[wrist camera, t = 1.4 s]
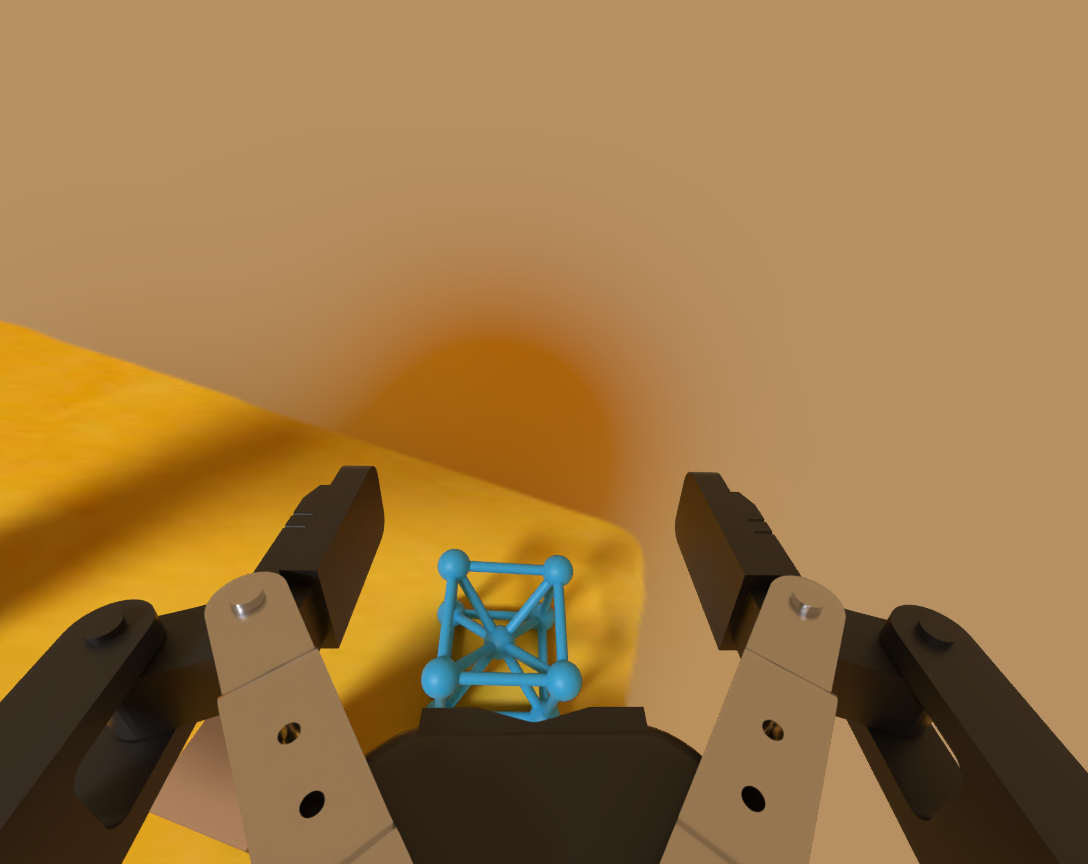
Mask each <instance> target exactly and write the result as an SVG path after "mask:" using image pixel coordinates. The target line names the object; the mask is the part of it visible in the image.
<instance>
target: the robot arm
mask: <svg viewBox="0 0 1088 864" xmlns="http://www.w3.org/2000/svg"><path fill="white" fill-rule="evenodd" d="M383 531H384V509H383V503H382V497H381V491H380V485H379V479H378V474H377V470H376V468H375V467H374V466H342V467H341V469H340V470H339V472H338V473H337V475H336V477H335V478H334V480H333V482H332V483H331V485H320V486H318V487H317V488H316V489H314V490H313V491H312V492H310V493H309V494H308V495H306V496H305V497H304V498H303V499H302V501H301V502H300V504H299V505H298V507H297V508H296V510H295V511H294V514H293V516H291V517H290V519H289V520H288V522H287V523H286V525H285V528H283V529H282V530H281V532H280V533H279V535H278V536H277V538H276V539H275V541H274V542H273V544H272V545H271V547H270V548H269V550H268V551H267V553H266V554H265V556H264V557H263V559H262V560H261V562H260V563H259V565H258V566H257V568H256V569H255V571H254V572H253V573H251V574H247V575H244V576H241V577H239V578H237V579H234V580H232V581H231V582H229V583H227V584H226V585H224V586H223V587H222V588H220V589H219V590H218V591H217V592H216V593H215V594H214V595H213V596H212V597H211V599H210V600H209V601H208V603H207V604H206V605H203V606H199V607H195V608H191V609H186V610H182V611H178V612H174V613H169V614H165V615H161V616H158V615H157V613H156V611H155V610H154V608H153V606H152V605H151V604H150V603H148V602H146V601H143V600H134V599H132V600H123V601H118V602H115V603H111V604H108V605H106V606H103V607H100V608H98V609H96V610H94V611H92V612H90V613H89V614H87V615H85V616H83V617H82V618H80V619H79V620H78V621H76V622H75V623H74V624H72V625H71V626H70V627H69V628H68V629H67V630H66V631H65V632H64V633H63V634H62V635H61V636H60V637H59V638H58V639H57V640H56V641H55V643H54V644H53V645H52V646H51V647H50V648H49V649H48V650H47V651H46V652H45V654H44V655H43V656H42V657H41V658H40V659H39V660H38V661H37V662H36V663H35V665H34V666H33V667H32V668H31V669H30V670H29V671H28V672H27V673H26V674H25V676H24V677H23V678H22V679H21V680H20V681H19V682H18V683H17V684H16V685H15V687H14V688H13V689H12V690H11V691H10V692H9V693H8V694H7V695H6V696H5V698H4V699H3V700H2V701H1V702H0V864H122V862H123V860H124V858H125V856H126V855H127V853H128V851H129V849H130V847H131V845H132V843H133V841H134V839H135V838H136V836H137V834H138V832H139V830H140V828H141V826H142V824H143V822H144V821H145V819H146V817H147V815H148V813H149V811H150V809H151V807H152V805H153V804H154V802H155V800H156V798H157V796H158V794H159V792H160V790H161V789H162V787H163V785H164V783H165V781H166V779H167V777H168V775H169V773H170V772H171V770H172V768H173V766H174V764H175V762H176V760H177V758H178V756H179V755H180V753H181V751H182V749H183V747H184V745H185V743H186V741H187V739H188V738H189V736H190V734H191V732H192V730H193V728H194V726H195V724H196V723H197V722H199V721H202V720H206V719H209V718H212V717H216V716H219V715H220V718H221V723H222V728H223V733H224V737H225V742H226V747H227V751H228V756H229V761H230V765H231V770H232V775H233V780H234V784H235V789H236V794H237V798H238V803H239V808H240V812H241V817H242V822H243V827H244V831H245V836H246V841H247V845H248V850H249V855H250V859H251V864H809V859H810V853H811V848H812V842H813V836H814V831H815V825H816V820H817V814H818V809H819V803H820V798H821V792H822V786H823V781H824V775H825V770H826V764H827V759H828V753H829V747H830V742H831V737H832V731H833V726H834V720H835V716H837V717H840V718H844V719H847V721H848V723H849V725H850V727H851V729H852V731H853V733H854V735H855V737H856V739H857V741H858V743H859V745H860V747H861V749H862V751H863V753H864V755H865V757H866V759H867V761H868V763H869V765H870V767H871V769H872V771H873V773H874V775H875V777H876V779H877V781H878V782H879V784H880V786H881V788H882V790H883V792H884V794H885V796H886V798H887V800H888V802H889V804H890V806H891V808H892V810H893V812H894V814H895V816H896V818H897V820H898V822H899V824H900V826H901V828H902V830H903V832H904V834H905V835H906V838H907V840H908V842H909V844H910V846H911V848H912V850H913V852H914V854H915V856H916V857H917V860H918V861H919V863H920V864H1088V773H1087V772H1086V770H1085V769H1084V768H1083V767H1082V766H1081V765H1080V763H1079V762H1078V761H1077V760H1076V759H1075V758H1074V757H1073V755H1072V754H1071V753H1070V752H1069V751H1068V750H1067V748H1066V747H1065V746H1064V745H1063V744H1062V742H1061V741H1060V740H1059V739H1058V738H1057V737H1056V736H1055V734H1054V733H1053V732H1052V731H1051V730H1050V729H1049V727H1048V726H1047V725H1046V724H1045V723H1044V721H1043V720H1042V719H1041V718H1040V717H1039V715H1038V714H1037V713H1036V712H1035V711H1034V710H1033V708H1032V707H1031V706H1030V705H1029V704H1028V703H1027V702H1026V700H1025V699H1024V698H1023V697H1022V696H1021V694H1020V693H1019V692H1018V691H1017V690H1016V689H1015V687H1013V685H1012V684H1011V683H1010V682H1009V680H1008V679H1007V678H1006V677H1005V676H1004V675H1003V673H1002V672H1000V670H999V669H998V668H997V666H996V665H995V664H994V663H993V662H992V661H991V659H990V658H989V657H988V656H987V655H986V654H985V652H984V651H983V650H982V649H981V648H980V647H979V645H978V644H977V643H976V642H975V641H974V640H973V638H972V637H971V636H970V635H969V634H968V633H967V632H966V631H965V630H964V629H963V628H961V627H960V626H959V625H958V624H956V623H955V622H954V621H952V620H950V619H949V618H947V617H946V616H944V615H942V614H940V613H938V612H936V611H933V610H931V609H928V608H925V607H921V606H916V605H903V606H899V607H896V608H895V609H894V610H893V611H892V613H891V615H890V616H889V618H888V620H885V619H881V618H878V617H874V616H870V615H866V614H862V613H858V612H854V611H850V610H847V609H844V608H843V606H842V604H841V603H840V601H839V600H838V599H837V597H836V596H835V595H834V594H832V593H831V592H830V591H829V590H828V589H826V588H825V587H823V586H822V585H820V584H818V583H816V582H814V581H812V580H809V579H807V578H803V577H801V575H800V574H799V572H798V570H797V569H796V567H795V566H794V564H793V563H792V561H791V560H790V558H789V557H788V555H787V554H786V552H785V550H784V549H783V547H782V546H781V544H780V543H779V541H778V540H777V538H776V537H775V535H772V531H771V529H770V527H769V526H768V524H767V523H766V522H764V518H763V517H762V515H761V513H760V512H759V510H758V509H757V507H756V506H755V505H754V504H753V503H752V502H751V501H749V500H748V499H747V498H746V497H744V496H743V495H742V494H741V493H739V492H730V490H729V489H728V487H727V485H726V483H725V482H724V480H723V479H722V477H721V475H720V474H719V473H711V472H688V473H687V475H686V476H685V480H684V484H683V488H682V493H681V497H680V502H679V506H678V510H677V515H676V521H675V532H676V538H677V542H678V545H679V547H680V550H681V553H682V555H683V558H684V560H685V563H686V565H687V568H688V571H689V573H690V576H691V579H692V581H693V584H694V586H695V589H696V591H697V594H698V597H699V599H700V602H701V604H702V607H703V610H704V612H705V615H706V618H707V620H708V623H709V625H710V628H711V631H712V633H713V636H714V638H715V641H716V644H717V646H718V649H719V650H737V651H738V653H739V656H740V658H741V661H740V663H739V665H738V668H737V670H736V673H735V676H734V678H733V681H732V683H731V686H730V688H729V691H728V693H727V696H726V698H725V701H724V704H723V706H722V708H721V711H720V713H719V716H718V718H717V721H716V723H715V726H714V729H713V731H712V733H711V736H710V739H709V741H708V744H707V746H706V749H705V751H704V754H703V756H701V755H700V754H699V753H698V752H697V751H696V750H694V749H693V748H692V747H690V746H689V745H687V744H686V743H684V742H683V741H682V740H680V739H678V738H676V737H674V736H673V735H671V734H669V733H667V732H664V731H661V730H659V729H657V728H654V727H651V726H647V722H646V717H645V712H644V707H589V708H585V709H582V710H578V711H575V712H571V713H567V714H564V715H560V716H557V717H553V718H550V719H546V720H543V721H538V722H530V721H526V720H522V719H518V718H515V717H511V716H507V715H503V714H500V713H496V712H492V711H489V710H485V709H481V708H423V709H422V715H421V720H420V725H419V727H416V728H413V729H410V730H407V731H405V732H402V733H400V734H398V735H395V736H394V737H392V738H390V739H388V740H386V741H384V742H383V743H381V744H380V745H378V746H377V747H375V748H374V749H373V750H371V751H370V752H368V753H367V754H366V755H365V756H364V754H363V752H362V750H361V747H360V745H359V743H358V740H357V738H356V736H355V734H354V731H353V729H352V727H351V724H350V722H349V720H348V717H347V715H346V713H345V710H344V708H343V706H342V703H341V701H340V699H339V697H338V694H337V692H336V690H335V687H334V685H333V683H332V680H331V678H330V676H329V673H328V671H327V669H326V667H325V664H324V662H323V660H322V657H321V655H320V653H319V651H320V648H339V646H340V644H341V641H342V639H343V636H344V634H345V631H346V628H347V626H348V623H349V621H350V618H351V616H352V613H353V611H354V608H355V605H356V603H357V600H358V598H359V595H360V593H361V590H362V587H363V585H364V582H365V580H366V577H367V575H368V572H369V570H370V567H371V564H372V562H373V559H374V557H375V554H376V552H377V549H378V546H379V544H380V541H381V539H382V536H383ZM932 721H933V722H934V724H935V726H936V727H937V729H938V730H939V732H940V733H941V735H942V736H943V738H944V739H945V741H946V742H947V744H948V745H949V747H950V748H951V750H952V751H953V753H954V755H955V756H956V758H957V760H958V763H959V766H960V767H959V766H958V764H957V763H956V761H955V760H954V758H953V757H952V755H951V754H950V752H949V751H948V749H947V747H946V746H945V744H944V743H943V741H942V740H941V738H940V737H939V735H938V734H937V732H936V731H935V729H934V728H933V726H932V725H931V723H932Z"/></svg>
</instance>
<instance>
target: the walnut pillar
mask: <svg viewBox="0 0 1088 864" xmlns="http://www.w3.org/2000/svg"><path fill="white" fill-rule="evenodd" d="M149 812H150V813H153V814H155V815H157V816H160V817H162V818H165V819H167V820H170V821H172V822H174V823H177V824H179V825H182V826H184V827H187V828H189V829H191V830H194V831H196V832H199V833H201V834H203V835H206V836H208V837H211V838H213V839H216V840H218V841H220V842H223V843H225V844H228V845H230V846H233V847H235V848H237V849H240V850H242V851H245V852H247V853H249V850H248V845H247V841H246V836H245V831H244V827H243V822H242V817H241V812H240V808H239V803H238V798H237V794H236V789H235V784H234V780H233V775H232V770H231V765H230V761H229V756H228V751H227V747H226V742H225V737H224V733H223V728H222V723H221V718H220V715H219V716H216V717H212V718H209V719H206V720H205V721H204V723H203V724H202V726H201V727H200V728H199V730H198V731H197V732H196V734H195V735H194V737H193V738H192V739H191V741H190V742H189V743H188V745H187V746H186V748H185V749H184V750H183V752H182V753H181V755H180V756H179V757H178V759H177V760H176V762H175V764H174V766H173V768H172V770H171V772H170V773H169V775H168V777H167V779H166V781H165V783H164V785H163V787H162V789H161V790H160V792H159V794H158V796H157V798H156V800H155V802H154V804H153V805H152V807H151V809H150V811H149Z"/></svg>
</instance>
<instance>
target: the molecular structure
mask: <svg viewBox="0 0 1088 864" xmlns="http://www.w3.org/2000/svg"><path fill="white" fill-rule="evenodd" d="M438 571H439V574H440V575H441V576H442V578H443V579H445V580H447V584H446V592H445V600H444V602H443V603H442V604H441V605H440V607H439V608H438V612H437V616H438V620H439V622H440V624H441V631H440V639H439V647H438V655H437V657H436V658H434V659H432V660H431V661H429V662H428V663H427V664H426V666H425V668H424V670H423V672H422V676H421V684H422V688H423V690H424V691H425V693H426V694H427V695H428V696H430V697H431V698H434V700H433V701H431V702H430V703H429V704H428V705H427V707H426V708H455V707H454V706H455V705H456V704H457V702H458V701H459V700H460V699H461V697H462V696H463V695H464V694H465V693H466V691H467V690H468V689H469V688H470V686H471V685H499V686H520V687H521V689H522V690H523V692H524V694H525V696H526V697H527V699H528V701H529V702H530V704H531V706H532V708H531V710H530V712H515V711H492V712H496V713H500V714H503V715H507V716H511V717H515V718H518V719H522V720H526V721H530V722H538V721H543V720H546V719H550V718H553V717H557V716H560V712H559V710H558V707H557V705H558V703H559V701H564V702H566V701H570V700H572V699H573V698H575V697H576V696H577V695H578V694H579V692H580V690H581V686H582V676H581V673H580V671H579V669H578V668H577V666H576V665H575V664H573V663H572V662H570V661H568V649H567V634H566V618H565V603H564V587H563V586H565V585H566V584H568V583H569V582H570V580H571V579H572V576H573V567H572V564H571V562H570V561H569V560H568V559H567V558H566V557H564V556H561V555H554V556H551V557H549V558H548V559H547V560H546V561H545V563H544V565H531V564H514V563H496V562H479V561H470V560H469V557H468V556H467V554H466V553H465V552H463V551H462V550H459V549H451V550H448V551H446V552H445V553H443V554H442V555H441V557H440V559H439V561H438ZM469 571H472V572H491V573H509V574H528V575H543V578H544V581H543V582H542V583H541V584H540V585H539V587H538V588H537V589H536V590H535V592H534V593H533V594H532V595H531V597H530V598H529V599H528V600H527V601H526V603H525V604H524V605H523V606H522V608H521V609H520V610H519V611H518V612H516V611H493V610H486V608H485V606H484V605H483V603H482V601H481V600H480V598H479V596H478V595H477V593H476V591H475V590H474V588H473V586H472V585H471V583H470V581H469V579H468V578H467V576H466V575H467V574H468V572H469ZM458 583H459V585H460V586H461V588H462V590H463V591H464V593H465V595H466V596H467V598H468V600H469V601H470V603H471V605H472V606H473V608H474V610H470V609H465V607H464V605H463V604H462V602H460V601H459V600H457V589H458ZM544 595H545V596H544ZM543 596H544V599H543V602H542V603H539V601H540V600H541V599H542V598H543ZM553 597H554V607H555V612H554V610H553V608H552V607H551V603H552V600H553ZM471 619H480V620H481V622H482V623H483V625H484V627H483V626H482V625H480V624H478V623H477V622H475V621H473V620H471ZM493 620H511V621H510V622H509V624H508V625H507V626H503V625H498V626H496V625H495V623H494V622H493ZM523 621H525V622H524V623H522V622H523ZM554 622H555V628H556V649H557V662H555V663H554V664H552V665H551V666H550V665H549V664H548V657H547V630H549V629H551V627H552V626H553V625H554ZM521 623H522V624H521ZM460 624H461V625H462V626H464V627H466V628H467V629H469V630H470V631H472V632H474V633H475V634H477V635H479V636H480V637H482V638H483V639H484V646H482V647H480V648H478V649H477V650H475V651H473V652H471V653H470V654H468V655H466V656H465V657H463V658H461V659H459V660H458V661H456V662H454V661H453V660H452V659H451V654H452V645H453V636H454V628H455V627H457V626H459V625H460ZM532 628H533V629H535V630H536V631H538V657H539V659H538V658H537V657H535V656H533V655H531V654H530V653H528V652H526V651H525V650H523V649H521V648H519V647H518V646H516V645H515V643H516V642H515V639H516V638H517V637H519V636H521V635H522V634H524V633H526V632H527V631H529V630H530V629H532ZM493 658H494V659H496V660H501V659H504V660H505V662H506V664H507V665H508V667H509V669H510V670H511V672H512V673H506V672H483V670H484V669H485V668H486V667H487V665H488V664H489V663H490V662H491V660H492V659H493ZM515 658H516V659H518V660H519V661H521V662H522V663H524V664H526V665H527V666H529V667H531V668H532V669H534V670H536V671H537V672H539V673H524V672H523V670H522V669H521V667H520V665H519V664H518V662H517V660H516V659H515ZM475 663H476V664H475ZM474 664H475V665H474ZM472 665H474V667H473V668H472V669H471V670H470V671H464V670H465V669H467V668H469V667H470V666H472ZM532 686H539V697H538V696H537V694H536V692H535V691H534V689H533V687H532ZM549 693H550V696H549ZM448 696H449V697H448ZM447 697H448V698H447Z"/></svg>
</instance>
